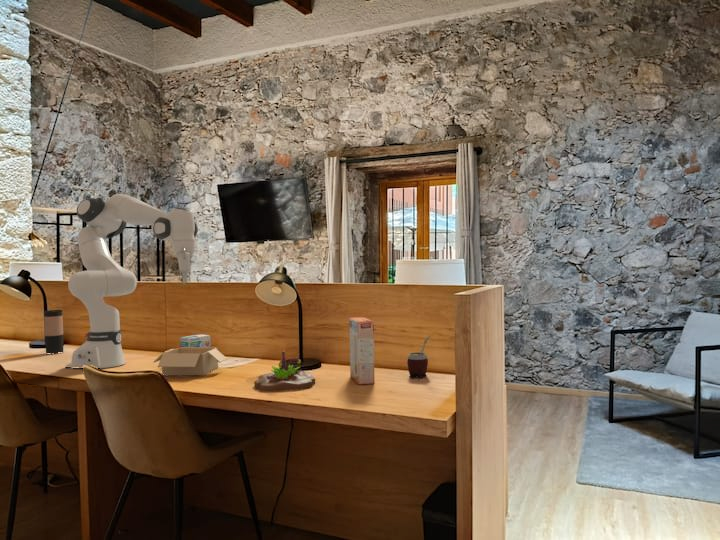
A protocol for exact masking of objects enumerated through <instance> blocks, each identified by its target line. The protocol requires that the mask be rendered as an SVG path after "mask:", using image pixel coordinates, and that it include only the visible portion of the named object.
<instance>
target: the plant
mask: <svg viewBox="0 0 720 540" xmlns="http://www.w3.org/2000/svg"><path fill="white" fill-rule="evenodd" d="M286 354H287V352H286V351H285V350H282V351H281V355H282V359H281V360H280V361H279V362H278V366H277V367H276V366H273V365H272V366H271V368H272V369H271V370H270V371H271V372H269V373H265V374H262V375H259V376H258V378H257V380H255V381H254V388H255V389H256V390H259V391H260V392H281V391H299V390H305V389H310V388H313V387H314V386H313V385H316V378H315V377H314V375H313V374H312V373H310V372H307V371H304V370H302V369H300V368H301V366H297V367H296V366H295V367H294V364H292V365H290V364H291V363H292V362H295V361H296V363H297V364H298V365H300V364H301V363H302V360H301V359H299V358H292V359H290V360H289V361H288V362H286Z"/></svg>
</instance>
